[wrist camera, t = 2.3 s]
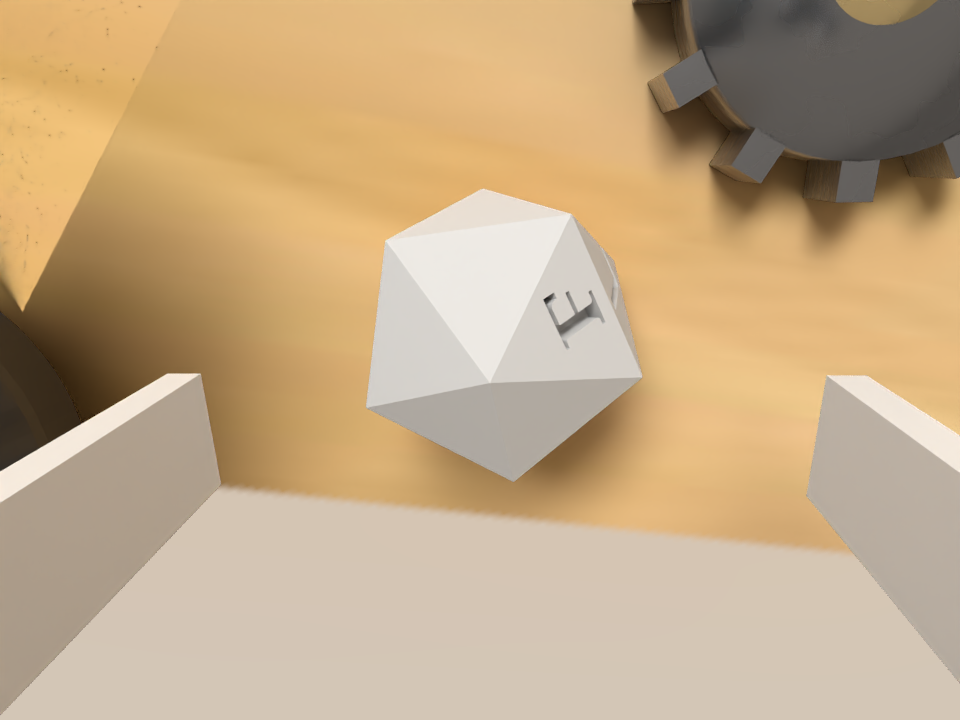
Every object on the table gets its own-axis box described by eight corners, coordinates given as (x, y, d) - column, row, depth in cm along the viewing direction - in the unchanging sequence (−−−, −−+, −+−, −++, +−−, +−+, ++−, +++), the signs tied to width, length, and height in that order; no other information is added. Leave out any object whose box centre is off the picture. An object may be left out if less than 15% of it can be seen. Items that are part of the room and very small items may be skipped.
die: (643, 342, 25) (718, 455, 15) (453, 423, 27) (414, 569, 17) (560, 147, 23) (587, 139, 13) (358, 250, 24) (255, 308, 15)
